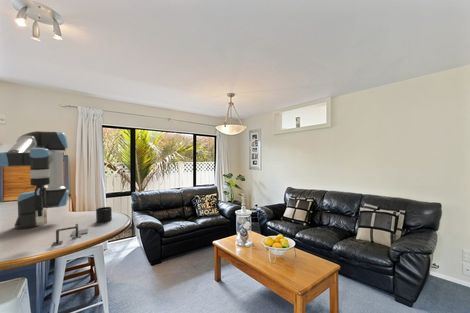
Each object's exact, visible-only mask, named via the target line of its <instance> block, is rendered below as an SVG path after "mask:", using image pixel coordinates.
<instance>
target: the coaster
mask: <svg viewBox="0 0 470 313" xmlns="http://www.w3.org/2000/svg"><path fill="white" fill-rule="evenodd" d="M88 231H89V229H88V228H83V229H78V235H79V234H81V236H82V235H86V234H87V235H88V233H89V232H88ZM73 235H76V230H72V231H71V233H70V237H73Z"/></svg>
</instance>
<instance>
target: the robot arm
mask: <svg viewBox="0 0 470 313" xmlns="http://www.w3.org/2000/svg"><path fill="white" fill-rule="evenodd" d="M68 148H69V143H68V138H67V135H66V133H65V132H60V131H37V130H36V131H30V132H28V133H25V134H22V135H21V136H19V137H18V138H17V140H16V143H15V144H14V145H12V147H10V149H8V151H7V152H6V151H2V152H1V151H0V167H26V166H27V167H29V171H28V174H30V175H29V176H30V180H29V181H30V186H33V187H34V186H36V188H35V189H34V190H31V191H26V192H23V193H20V194H18V195H17V218H16V220H15V223H14V229H16V230H24V229H31V228H37V227H40V226H41V225H39V226H36V213H35V211H37V223H40V222H44V209H43V208H47V209H51V208H52V209H53V208H61V207H65V206H67V204H68V200H69V195H70V190H69V189H67V187H66V186H65V185H64V184H65V183H64V153H65V152H66V149H68ZM45 186H47V187H45Z"/></svg>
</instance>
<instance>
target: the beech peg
mask: <svg viewBox="0 0 470 313" xmlns="http://www.w3.org/2000/svg"><path fill="white" fill-rule="evenodd" d="M43 209H44V222H40V223H37V211H35V213H36V226H37V227H40V226H44V225H47V224H48V211H47V210H48V208H43ZM39 225H40V226H39Z"/></svg>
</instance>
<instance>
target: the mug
mask: <svg viewBox="0 0 470 313" xmlns="http://www.w3.org/2000/svg"><path fill="white" fill-rule="evenodd" d="M95 211H96V212H95V216H96V219H95V220H96V223H97V224H102V223H103V222H104V223H108V221H109V222H111V221H112V220H113V218H112V215H113V214H112V211H113V210H112V207H111V206H103V207H98V208H96V209H95Z"/></svg>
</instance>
